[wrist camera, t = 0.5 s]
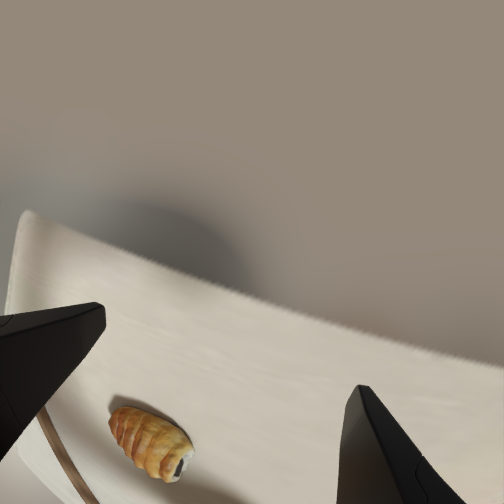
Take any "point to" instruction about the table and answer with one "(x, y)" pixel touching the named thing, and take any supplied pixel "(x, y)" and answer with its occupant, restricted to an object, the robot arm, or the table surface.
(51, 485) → the table surface
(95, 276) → the table surface
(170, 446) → the pastry
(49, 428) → the walnut frame
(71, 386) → the table surface
